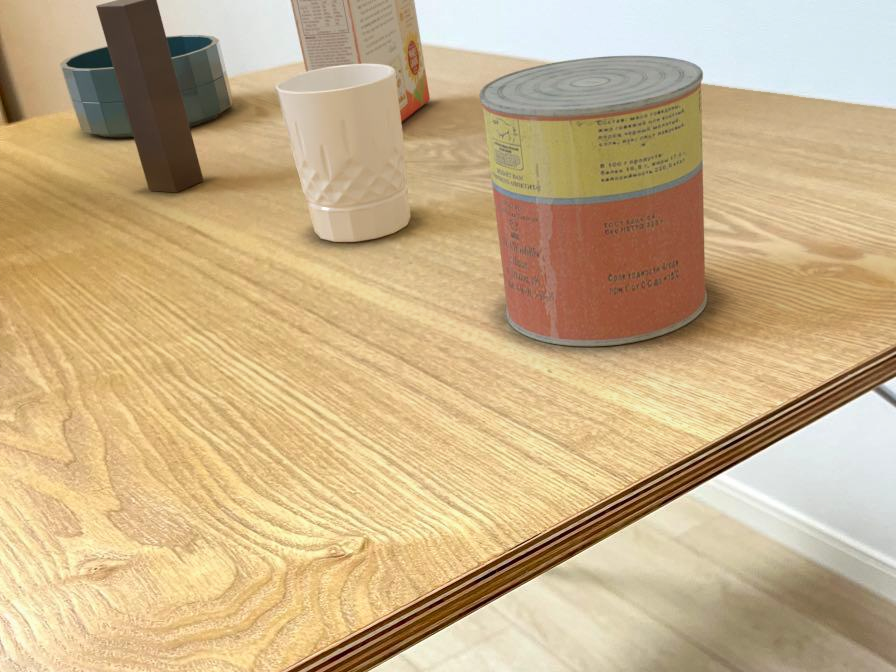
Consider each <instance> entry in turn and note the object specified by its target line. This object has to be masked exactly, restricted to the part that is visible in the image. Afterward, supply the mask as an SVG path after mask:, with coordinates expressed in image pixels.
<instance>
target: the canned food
mask: <svg viewBox="0 0 896 672" xmlns="http://www.w3.org/2000/svg"><path fill="white" fill-rule="evenodd" d="M703 79H704V72H703V70H702V68H701V67H700V66H699V65H697V64H695V63H693V62H691V61H689V60H685V59H681V58H680V59H679V58H675V57H668V56H657V55H656V56H655V55H610V56H607V55H606V56H596V57H595V56H594V57H585V58H576V59H569V60H563V61H557V62H556V61H555V62H550V63H546V64H541V65H536V66H531V67H527V68H523V69H520V70H516V71H514V72H511V73H508V74H504V75H502V76H500V77H498V78H495V79H493V80H492V81H489V82H488V83H486V84H485V85H484V86H483V87H482V88H481V90H479V101H480V102H481V104H482V112H483V118H484V128H485V135H486V144H487V145H486V146H487V153H488V160H489V168H490V169H489V170H490V177H491V185H492V195H493V202H494V209H495V210H494V211H495V218H496V227H497V234H498V243H499V251H500V258H501V268H502V275H503V283H504V290H505V291H504V293H505V300H506V301H505V302H506V308H505V314H506V319H507V322H508V323H509V324H510V326H511V327H512V329H515V330H516V331H517V332H518V333H520V334H522V335H524V336H526V337H528V338H530V339H533V340H536V341H540V342H543V343H547V344H554V345H560V346H567V347H608V346H618V345H627V344H631V343H637V342H643V341H647V340H650V339H651V340H652V339H654V338H657V337H661V336H664V335H667V334H669V333H672V332H674V331H676V330H679V329H681V328H683V327H685V326H686V325H688V324H689V323H691V322H692V321H694V320H695V319H696V318H697V317H698V316H699V315H700V314H702V312H703V311H704V310H705V307H706V305H707V302H708V294H707V290H706V266H705V265H706V261H705V260H706V259H705V219H704V218H705V216H704V213H705V212H704V209H705V208H704V168H703V167H704V165H703V164H704V163H703V157H704V156H703V113H702V111H703V110H702V109H703V108H702V107H703V106H702V82H703Z"/></svg>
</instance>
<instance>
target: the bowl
mask: <svg viewBox="0 0 896 672" xmlns="http://www.w3.org/2000/svg"><path fill="white" fill-rule="evenodd" d="M166 38H167V42H168V46H169V50H170V54H171V57H172V61H173V65H174V69H175V73H176V77H177V80H178V84H179V88H180V92H181V96H182V100H183V103H184V107H185V111H186V115H187V119H188V123H189V126H190V128H191V127H194V126H198V125H202V124H204V123H206V122H209V121H211V120H213V119H216V118H217V117H218V116H220V115H222V113H224V111H225V110H227V109H229V108H230V107H231V106H232V105H233V103H234V98H233V93H232V90H231V89H232V88H231V85H230V81H229V76H228V73H227V68H226V63H225V60H224V56H223V50H222V47H221V43H220V39H219V38H217V37H215V36H212V35H205V34H179V35H166ZM59 66H60V70H61V73H62V77H63V80H64V83H65V86H66V89H67V92H68V95H69V98H70V102H71V105H72V108H73V112H74V116H75V118H76V122H77V124H78V127H79V129H80V130H81V131H82V132H84V133H88V134H93V135H96V136H98V137H102V138H103V137H104V138H113V139H115V138H116V139H117V138H125V139H126V138H134V136H133V133H132V129H131V126H130V122H129V119H128V115H127V112H126V109H125V105H124V102H123V98H122V95H121V91H120V88H119V84H118V81H117V77H116V74H115V70H114V67H113V63H112V60H111V57H110V53H109V50H108V46H107V45H105V46H102V47H101V46H100V47H97V48H93V49H89V50H86V51H84V52H80V53H77V54H74V55H72V56H69V57H67V58H66V59H63V61H61V62H60V63H59Z"/></svg>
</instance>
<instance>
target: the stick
mask: <svg viewBox="0 0 896 672" xmlns="http://www.w3.org/2000/svg"><path fill="white" fill-rule="evenodd" d="M95 8H96V12H97V14H98V18H99V21H100V22H99V23H100V25H101V28H102V31H103V37H104V39H105V43H106V46H108V50H109V53H110V57H111V60H112V63H113V67H114V70H115V74H116V77H117V81H118V84H119V88H120V91H121V95H122V98H123V102H124V105H125V109H126V112H127V115H128V119H129V122H130V126H131V129H132V133H133V136H134V137H133V139H134V142H135V143H134V144H135V147H136V150H137V153H138V157H139V160H140V163H141V167H142V170H143V174H144V179H145V181H146V185H147V188H148V190H149V191H150V192H151V191H154V192H164V193H179V192H182V191H184V190H186V189H188V188H191V187H193V186H195V185H198V184H201V183H202V182H204V177H203V172H202V169H201V165H200V161H199V158H198V157H199V156H198V153H197V149H196V146H195V142H194V139H193V135H192V132H191V131H192V130H191V127H190V126H189V123H188V119H187V115H186V111H185V107H184V103H183V100H182V96H181V92H180V88H179V84H178V80H177V77H176V73H175V69H174V65H173V61H172V57H171V54H170V50H169V46H168V42H167V38H166V36H167V35H166V31H165V27H164V23H163V19H162V16H161V12H160V7H159V3H158V1H157V0H112V1H108V2H105V3H101V4H97V5H96V6H95Z"/></svg>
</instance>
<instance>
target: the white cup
mask: <svg viewBox="0 0 896 672" xmlns="http://www.w3.org/2000/svg"><path fill="white" fill-rule="evenodd" d="M274 88H275V92H276V96H277V99H278V103H279V107H280V111H281V114H282V118H283V122H284V126H285V129H286V133H287V137H288V141H289V146H290V149H291V154H292V158H293V160H294V161H293V162H294V164H295V169H296V170H297V174H298V176H299V177H298V178H299V181H300V186H301V189H302V192H303V195H304V198H305V199H306V200H307V206H308V207H307V208H308V211H309V215H310V219H311V222H312V226H313V230H314V233H315V234H316V235H317V236H318V237H319V238H320V239H321V240H324V241H329V242H334V243H356V242H363V241H369V240H375V239H379V238H383V237H386V236H388V235H392V234H395V233H396V232H398V231H400V230H402V229H403V228H405V227H406V226H408V224H409V223H410V220H411V217H412V216H411V206H410V200H409V192H408V186H407V183H408V171H407V170H408V169H407V162H406V149H405V141H404V139H405V138H404V132H403V125H402V124H403V123H402V122H401V115H400V107H399V98H398V90H397V81H396V72H395V69H394V68H393V67H391V66H388V65H383V64H349V65H340V66H332V67H326V68H320V69H315V70H311V71H307V72H306V71H302V72H299V73H296V74H293V75H290V76H287V77H285V78H283V79H281V80H280V81H278V82H276V84H275V86H274Z"/></svg>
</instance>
